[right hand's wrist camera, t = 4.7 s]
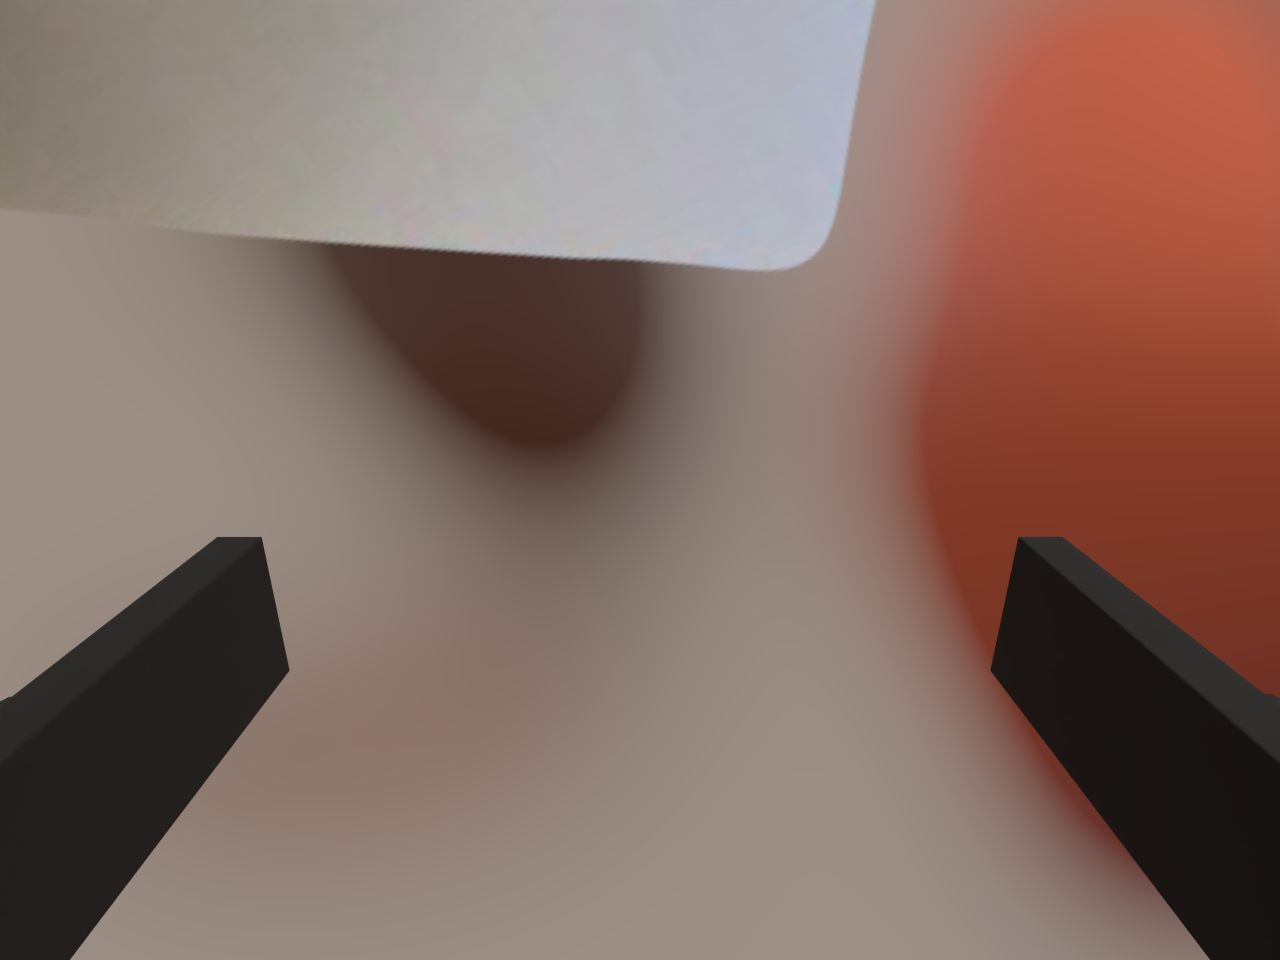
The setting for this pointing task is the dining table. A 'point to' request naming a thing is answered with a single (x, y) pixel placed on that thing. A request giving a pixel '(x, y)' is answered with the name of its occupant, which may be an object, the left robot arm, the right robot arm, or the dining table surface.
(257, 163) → the dining table surface
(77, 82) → the dining table surface
